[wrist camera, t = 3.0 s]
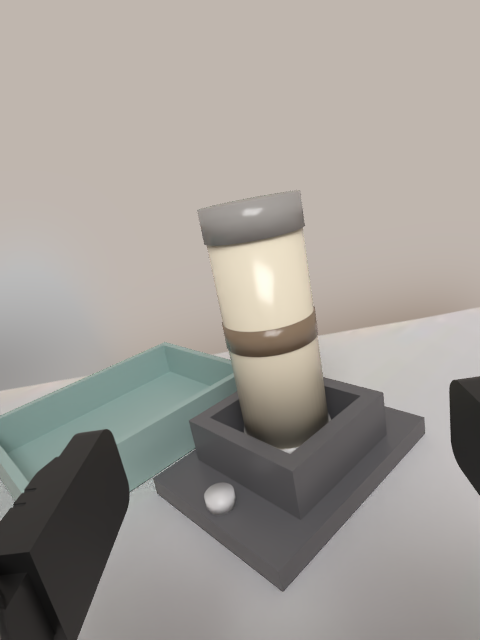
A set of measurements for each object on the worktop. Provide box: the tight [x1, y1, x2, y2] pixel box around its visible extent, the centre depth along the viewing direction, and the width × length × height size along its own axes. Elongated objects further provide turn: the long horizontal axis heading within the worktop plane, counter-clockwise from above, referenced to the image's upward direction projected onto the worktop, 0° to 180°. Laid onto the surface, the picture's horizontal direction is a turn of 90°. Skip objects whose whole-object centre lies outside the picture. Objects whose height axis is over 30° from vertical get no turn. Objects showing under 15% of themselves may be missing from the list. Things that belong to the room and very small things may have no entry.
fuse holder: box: [153, 377, 425, 591], centre depth 22 cm, size 12×9×4 cm
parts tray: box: [0, 342, 237, 501], centre depth 28 cm, size 15×11×3 cm
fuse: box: [197, 190, 331, 454], centre depth 21 cm, size 5×5×13 cm
